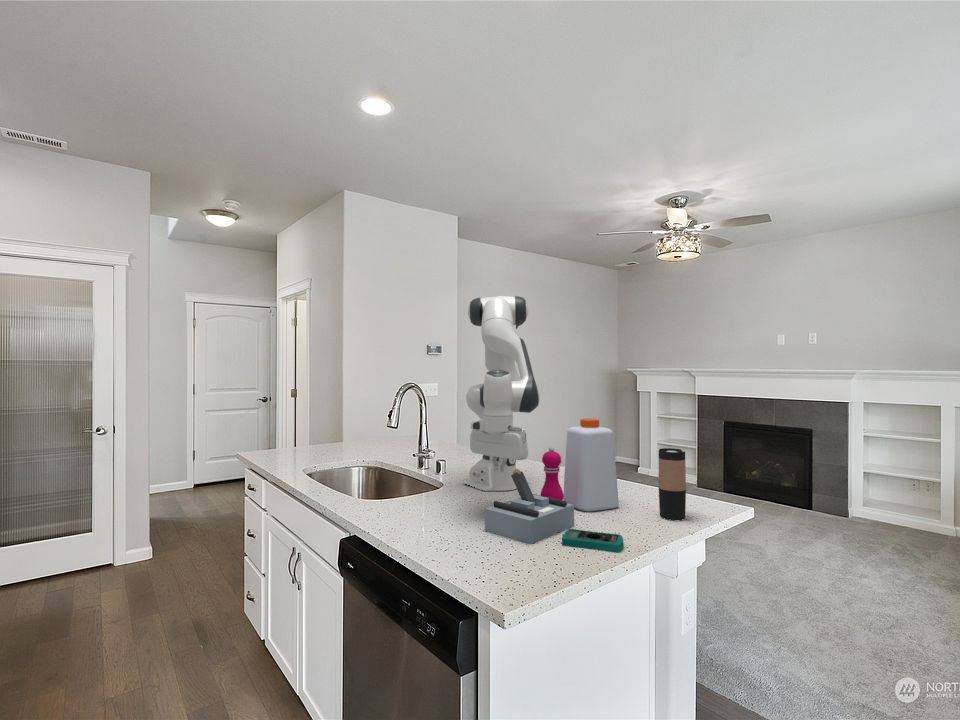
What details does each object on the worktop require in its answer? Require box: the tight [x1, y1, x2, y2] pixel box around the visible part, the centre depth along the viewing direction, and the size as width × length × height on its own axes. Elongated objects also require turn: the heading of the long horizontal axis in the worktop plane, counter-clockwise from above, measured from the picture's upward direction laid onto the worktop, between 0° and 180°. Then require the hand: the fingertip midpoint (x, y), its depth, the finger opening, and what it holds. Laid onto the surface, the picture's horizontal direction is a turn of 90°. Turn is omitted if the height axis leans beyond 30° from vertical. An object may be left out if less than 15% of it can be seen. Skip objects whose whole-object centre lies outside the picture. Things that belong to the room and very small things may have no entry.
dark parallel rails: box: [492, 493, 567, 517], centre depth 140 cm, size 16×15×2 cm
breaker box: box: [484, 494, 575, 545], centre depth 140 cm, size 16×20×8 cm
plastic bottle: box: [563, 417, 619, 512], centre depth 164 cm, size 15×15×28 cm
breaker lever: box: [511, 468, 536, 505], centre depth 142 cm, size 2×3×11 cm
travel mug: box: [658, 447, 687, 521], centre depth 150 cm, size 8×8×20 cm
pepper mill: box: [540, 445, 564, 501], centre depth 158 cm, size 7×7×20 cm
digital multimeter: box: [561, 528, 624, 553], centre depth 127 cm, size 7×15×3 cm, turn 68°
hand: (498, 471), depth 149 cm, fingers closed
